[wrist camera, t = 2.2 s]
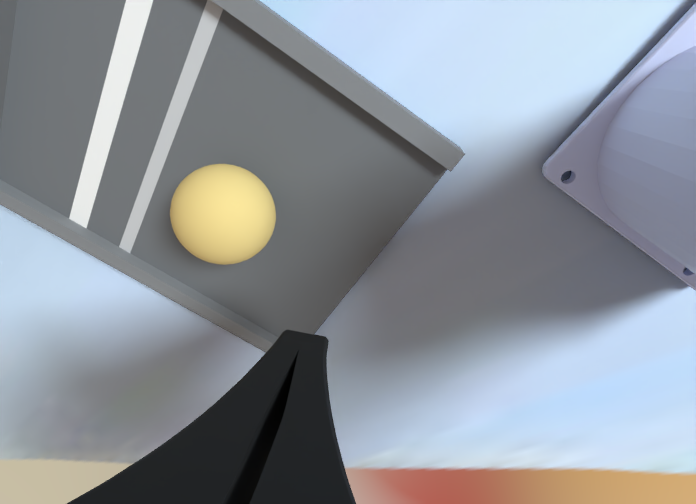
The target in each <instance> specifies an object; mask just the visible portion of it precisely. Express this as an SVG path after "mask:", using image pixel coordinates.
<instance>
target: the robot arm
mask: <svg viewBox="0 0 696 504" xmlns="http://www.w3.org/2000/svg"><path fill="white" fill-rule="evenodd" d="M566 171H571V176H570V178H569V179H567V180H566V181H561V176H562V175H563V173H565V172H566ZM542 173H543V175H544V177H545V178H546V179H548V180H549V181H550V182H552V183H553V184H554V185H556V186H557V187H558V188H560V189H561V190H562V191H564V192H565V193H566V194H568V195H569V196H570V197H572V198H573V199H574V200H576V201H577V202H578V203H580V204H581V205H582V206H584V207H585V208H586V209H588V210H589V211H590V212H592V213H593V214H594V215H596V216H597V217H598V218H600V219H601V220H602V221H604V222H605V223H606V224H608V225H609V226H610V227H612V228H613V229H614V230H616V231H617V232H618V233H620V234H621V235H622V236H624V237H625V238H626V239H628V240H629V241H630V242H632V243H633V244H634V245H635V246H637V247H638V248H639V249H641V250H642V251H643V252H645V253H646V254H647V255H649V256H650V257H651V258H653V259H654V260H655V261H657V262H658V263H659V264H661V265H662V266H663V267H665V268H666V269H667V270H669V271H670V272H671V273H673V274H674V275H675V276H677V277H678V278H679V279H681V280H682V281H683V282H685V283H686V284H687V285H689V286H690V287H691V288H693V289H694V290H696V3H695V4H694V5H693V6H692V7H691V8H690V9H689V10H688V11H687V12H686V13H685V14H684V15H683V17H682V18H681V19H680V20H679V21H678V22H677V23H676V24H675V25H674V26H673V27H672V28H671V29H670V30H669V31H668V32H667V33H666V34H665V36H664V37H663V38H662V39H661V40H660V41H659V42H658V43H657V44H656V45H655V46H654V47H653V48H652V49H651V50H650V51H649V52H648V54H647V55H646V56H645V57H644V58H643V59H642V60H641V61H640V62H639V63H638V64H637V65H636V66H635V67H634V68H633V69H632V70H631V71H630V73H629V74H628V75H627V76H626V77H625V78H624V79H623V80H622V81H621V82H620V83H619V84H618V85H617V86H616V87H615V88H614V89H613V90H612V92H611V93H610V94H609V95H608V96H607V97H606V98H605V99H604V100H603V101H602V102H601V103H600V104H599V105H598V106H597V107H596V108H595V110H594V111H593V112H592V113H591V114H590V115H589V116H588V117H587V118H586V119H585V120H584V121H583V122H582V123H581V124H580V125H579V126H578V127H577V129H576V130H575V131H574V132H573V133H572V134H571V135H570V136H569V137H568V138H567V139H566V140H565V141H564V142H563V143H562V144H561V145H560V147H559V148H558V149H557V150H556V151H555V152H554V153H553V154H552V155H551V156H550V157H549V158H548V159H547V160H546V162H545V163H544V165H543V168H542ZM685 267H686V268H688V269H687V270H685V271H683V270H684V268H685ZM328 341H329V340H328V339H327V338H326V337H324V336H319V335H313V334H308V333H303V332H298V331H293V330H285V331H283V332H282V334H281V335H280V337H279V338H278V339H277V340H276V342H275V343H274V344H273V345H272V346H271V348H270V349H269V350H268V351H267V352H266V353H265V355H264V356H263V357H262V358H261V359H260V360H259V361H258V362H257V363H256V364H255V365H254V366H253V368H252V369H251V370H250V371H249V372H248V373H247V374H246V375H245V376H244V377H243V378H242V379H241V380H240V381H239V382H238V383H237V384H236V385H235V386H233V387H232V388H231V389H230V390H229V391H228V392H227V393H226V394H225V395H224V396H223V397H222V398H221V399H220V400H218V401H217V402H216V403H215V404H214V405H213V406H212V407H210V408H209V409H208V410H207V411H206V412H204V413H203V414H202V415H201V416H199V417H198V418H197V419H196V420H194V421H193V422H192V423H191V424H189V425H188V426H187V427H186V428H184V429H183V430H181V431H180V432H179V433H177V434H176V435H175V436H173V437H172V438H171V439H169V440H168V441H167V442H165V443H164V444H162V445H161V446H160V447H158V448H157V449H155V450H154V451H152V452H151V453H149V454H148V455H146V456H145V457H143V458H142V459H140V460H139V461H137V462H135V463H134V464H132V465H131V466H129V467H128V468H126V469H125V470H123V471H122V472H120V473H118V474H117V475H115V476H114V477H112V478H111V479H109V480H107V481H106V482H104V483H102V484H101V485H99V486H97V487H96V488H94V489H92V490H90V491H88V492H86V493H85V494H83V495H81V496H79V497H78V498H76V499H74V500H72V501H71V502H69V503H67V504H356V502H355V499H354V497H353V493H352V491H351V488H350V485H349V482H348V479H347V475H346V472H345V468H344V464H343V461H342V457H341V453H340V449H339V446H338V442H337V437H336V433H335V428H334V423H333V418H332V412H331V406H330V400H329V391H328V383H327V367H326V355H327V348H328Z"/></svg>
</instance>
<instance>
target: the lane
mask: <svg viewBox="0 0 696 504" xmlns="http://www.w3.org/2000/svg"><path fill="white" fill-rule="evenodd" d="M464 155H465V154H464V152H463V151H462V150H461V148H460V147H458V146H457V145H456V144H454V143H453V142H452V141H450V140H449V139H448V138H446V137H445V136H443V135H442V134H441V133H439V132H438V131H437V130H435V129H434V128H433V127H431V126H430V125H428V124H427V123H426V122H424V121H423V120H422V119H420V118H419V117H417V116H416V115H415V114H413V113H412V112H411V111H409V110H408V109H407V108H405V107H404V106H402V105H401V104H400V103H398V102H397V101H396V100H394V99H393V98H392V97H390V96H389V95H387V94H386V93H385V92H383V91H382V90H381V89H379V88H378V87H376V86H375V85H374V84H372V83H371V82H370V81H368V80H367V79H366V78H364V77H363V76H361V75H360V74H359V73H357V72H356V71H355V70H353V69H352V68H351V67H349V66H348V65H346V64H345V63H344V62H342V61H341V60H340V59H338V58H337V57H336V56H334V55H333V54H331V53H330V52H329V51H327V50H326V49H325V48H323V47H322V46H320V45H319V44H318V43H316V42H315V41H314V40H312V39H311V38H310V37H308V36H307V35H305V34H304V33H303V32H301V31H300V30H299V29H297V28H296V27H295V26H293V25H292V24H290V23H289V22H288V21H286V20H285V19H284V18H282V17H281V16H280V15H278V14H277V13H275V12H274V11H273V10H271V9H270V8H269V7H267V6H266V5H264V4H263V3H262V2H260V1H259V0H0V204H1V205H2V206H4V207H6V208H8V209H10V210H11V211H13V212H15V213H17V214H19V215H20V216H22V217H24V218H26V219H28V220H29V221H31V222H33V223H35V224H37V225H38V226H40V227H42V228H44V229H46V230H47V231H49V232H51V233H53V234H55V235H56V236H58V237H60V238H62V239H63V240H65V241H67V242H69V243H71V244H72V245H74V246H76V247H78V248H80V249H81V250H83V251H85V252H87V253H89V254H90V255H92V256H94V257H96V258H98V259H99V260H101V261H103V262H105V263H107V264H108V265H110V266H112V267H114V268H116V269H117V270H119V271H121V272H123V273H124V274H126V275H128V276H130V277H132V278H133V279H135V280H137V281H139V282H141V283H142V284H144V285H146V286H148V287H150V288H151V289H153V290H155V291H157V292H159V293H160V294H162V295H164V296H166V297H168V298H169V299H171V300H173V301H175V302H177V303H178V304H180V305H182V306H184V307H186V308H187V309H189V310H191V311H193V312H194V313H196V314H198V315H200V316H202V317H203V318H205V319H207V320H209V321H211V322H212V323H214V324H216V325H218V326H220V327H221V328H223V329H225V330H227V331H229V332H230V333H232V334H234V335H236V336H238V337H239V338H241V339H243V340H245V341H247V342H248V343H250V344H252V345H254V346H255V347H257V348H259V349H261V350H263V351H264V352H267V351H268V350H269V349H270V348H271V346H272V345H273V344H274V343H275V342H276V340H277V339H278V338H279V337H280V335H281V334H282V332H283V331H285V330H293V331H298V332H303V333H308V334H313V335H314V334H315V332H316V331H317V330H318V329H319V327H320V326H321V325H322V324H323V322H324V321H325V320H326V319H327V317H328V316H329V315H330V314H331V313H332V311H333V310H334V309H335V308H336V306H337V305H338V304H339V303H340V301H341V300H342V299H343V298H344V297H345V295H346V294H347V293H348V292H349V290H350V289H351V288H352V287H353V285H354V284H355V283H356V282H357V280H358V279H359V278H360V277H361V276H362V274H363V273H364V272H365V271H366V269H367V268H368V267H369V266H370V264H371V263H372V262H373V261H374V259H375V258H376V257H377V256H378V255H379V253H380V252H381V251H382V250H383V248H384V247H385V246H386V245H387V243H388V242H389V241H390V240H391V238H392V237H393V236H394V235H395V234H396V232H397V231H398V230H399V229H400V227H401V226H402V225H403V224H404V222H405V221H406V220H407V219H408V218H409V216H410V215H411V214H412V213H413V211H414V210H415V209H416V208H417V206H418V205H419V204H420V203H421V201H422V200H423V199H424V198H425V197H426V195H427V194H428V193H429V192H430V190H431V189H432V188H433V187H434V185H435V184H436V183H437V182H438V180H439V179H440V178H441V177H442V176H443V174H444V173H445V172H446V171H447V169H448V170H449V171H452V169H453V168H454V167H455V166H456V165H457V163H458V162H459V161H460V160H461V158H462V157H463V156H464ZM213 164H230V165H235V166H238V167H241V168H244V169H246V170H248V171H250V172H251V173H253V174H254V175H255V176H257V177H258V178H259V179H260V180H261V181H262V182H263V183H264V184H265V186H266V187H267V188H268V190H269V192H270V194H271V195H272V198H273V201H274V204H275V210H276V222H275V227H274V231H273V234H272V236H271V238H270V240H269V241H268V243H267V244H266V246H265V247H264V248H263V249H262V250H261V251H260V252H259V253H257V254H256V255H255V256H253V257H252V258H250V259H248V260H245V261H242V262H240V263H235V264H227V265H222V264H214V263H210V262H206V261H204V260H201V259H199V258H197V257H196V256H194V255H193V254H191V253H190V252H189V251H188V250H187V249H186V248H185V247H184V246H183V245H182V244H181V243H180V242H179V240H178V239H177V237H176V235H175V233H174V231H173V228H172V224H171V219H170V207H171V201H172V198H173V195H174V193H175V191H176V189H177V187H178V186H179V184H180V183H181V182H182V180H183V179H184V178H186V177H187V176H188V175H189V174H191V173H192V172H194V171H195V170H197V169H199V168H202V167H204V166H208V165H213Z"/></svg>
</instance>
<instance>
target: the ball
mask: <svg viewBox="0 0 696 504" xmlns="http://www.w3.org/2000/svg"><path fill="white" fill-rule="evenodd" d="M170 219H171V224H172V228H173V231H174V233H175V235H176V237H177V239H178V240H179V242H180V243H181V244H182V245H183V246H184V247H185V248H186V249H187V250H188V251H189V252H190V253H191V254H193V255H194V256H196V257H197V258H199V259H201V260H204V261H206V262H210V263H214V264H222V265H227V264H235V263H240V262H242V261H245V260H248V259H250V258H252V257H253V256H255V255H256V254H257V253H259V252H260V251H261V250H262V249H263V248H264V247H265V246H266V244H267V243H268V241H269V240H270V238H271V236H272V234H273V231H274V227H275V222H276V210H275V204H274V201H273V198H272V195H271V194H270V192H269V190H268V188H267V187H266V186H265V184H264V183H263V182H262V181H261V180H260V179H259V178H258V177H257V176H255V175H254V174H253V173H251V172H250V171H248V170H246V169H244V168H241V167H238V166H235V165H230V164H213V165H208V166H204V167H202V168H199V169H197V170H195V171H194V172H192V173H191V174H189V175H188V176H187V177H186V178H184V179H183V180H182V182H181V183H180V184H179V186H178V187H177V189H176V191H175V193H174V195H173V198H172V201H171V207H170Z"/></svg>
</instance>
